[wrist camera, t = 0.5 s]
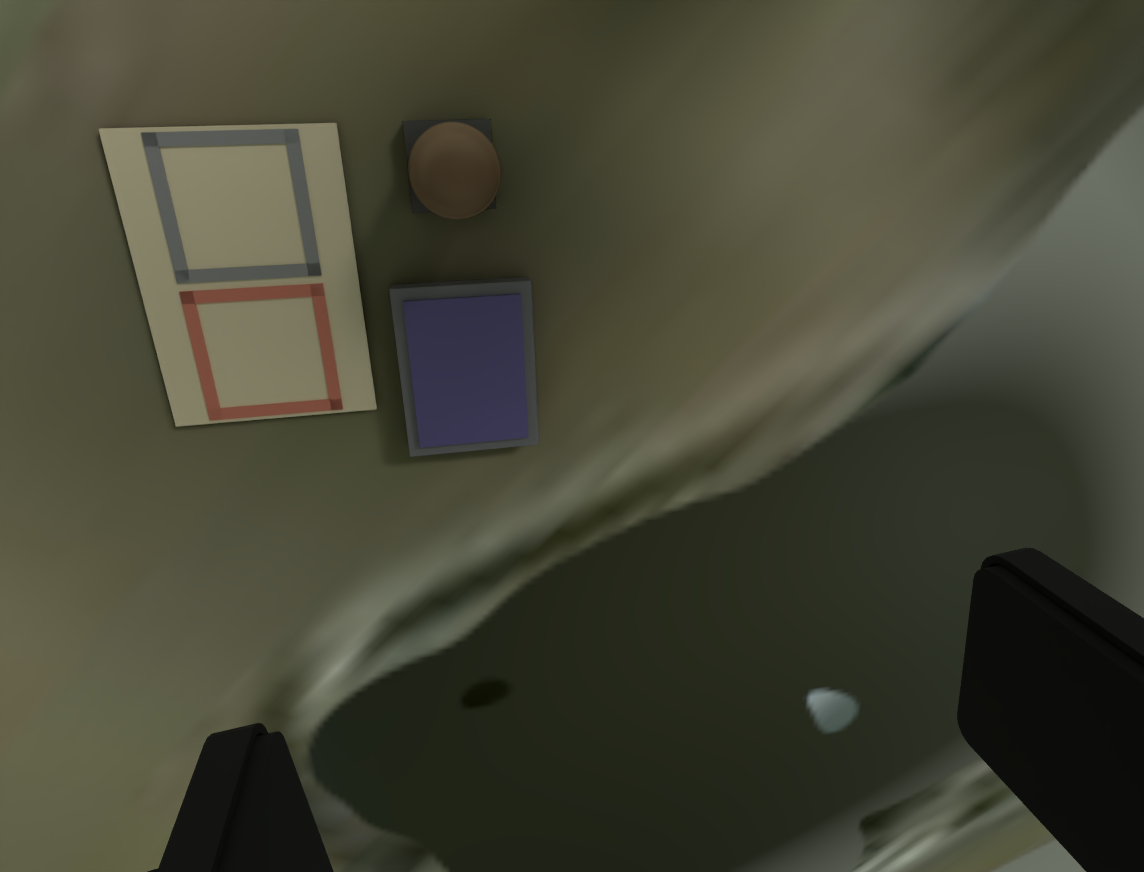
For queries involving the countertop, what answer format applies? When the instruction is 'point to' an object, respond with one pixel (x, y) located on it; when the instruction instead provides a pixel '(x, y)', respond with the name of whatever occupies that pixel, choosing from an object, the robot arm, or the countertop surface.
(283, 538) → the countertop surface
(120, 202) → the card sheet
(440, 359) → the ink pad
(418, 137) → the stamp
